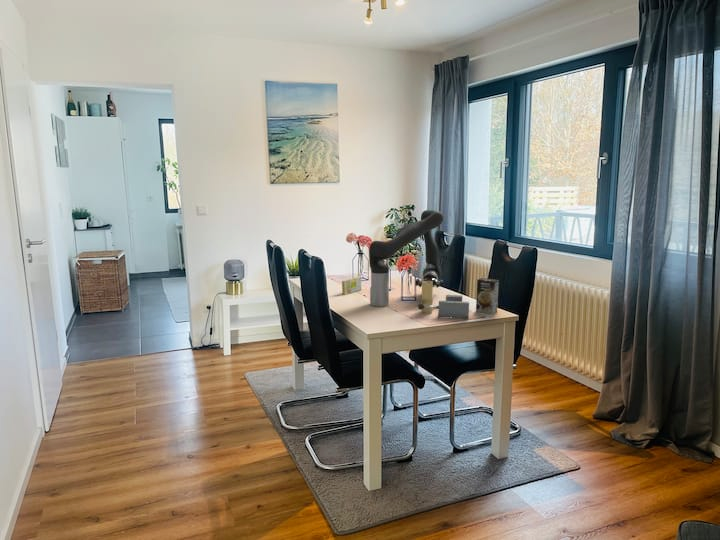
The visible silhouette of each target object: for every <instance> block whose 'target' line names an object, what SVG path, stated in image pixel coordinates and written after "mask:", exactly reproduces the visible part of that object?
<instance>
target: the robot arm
mask: <svg viewBox="0 0 720 540" xmlns="http://www.w3.org/2000/svg"><path fill="white" fill-rule="evenodd" d="M443 221H444V215H443V213H442V212H441V211H439V210H432V209H431V210H430V209H429V210H427V209H426V210H424V211H422V213H421V214H420V220H417V221H413V222H410V223H408V224H407V223H406V225H404V226H402V227H401V228H400V229H398V231H397V232H396V234H395V236H394V237H393V238H391V239H390V240H387V241H383V240H374V241H372V242H371V243H370V244H369V248H368V260H369V267H370V288H369V302H370V304H369V306H371V307H372V306H374V307H387V306H390V305H389V304H390V303H389V302H390V300H389V299H390V297H389V296H390V295H389V294H390V290H389V289H390V285H389V284H390V267H389V266H388V265H387V264H386V263H385V262H384V261H386V260H388V259H390V258H392V257H393V255H395V254H396V253H397V252H398V251H400V250H402V249H403V248H405V246H407V245H409V244H410V243H413V242H414V241H416V240H417V239H418V238H420V237H421V236H423V240H424V249H425V253H424V254H425V263H426V264H427V265H431V266H434V267H425V268H424V269H423V271H422V276H423V277H422V278H423V279H420V278H417V279H415V286H416V287H417V286H418V287H419V288H422V281H433V288H434V287H436V288H437V289H439V287H444V280H443V279H441V278H442V276H443V273H442V270H441V267H440V263H439V249H438V246H437V243H436V240H435V239H434V237H433V233H432V230H434V229H436V228H438V227H440V226H441V224H443Z"/></svg>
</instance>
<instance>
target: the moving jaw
mask: <svg viewBox="0 0 720 540" xmlns="http://www.w3.org/2000/svg"><path fill="white" fill-rule="evenodd" d="M445 301H461V302H463V295H460V294H459V295H458V294H445Z"/></svg>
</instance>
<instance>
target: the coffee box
mask: <svg viewBox="0 0 720 540" xmlns="http://www.w3.org/2000/svg"><path fill="white" fill-rule="evenodd" d="M476 281H477V282H476V302H475V304H476V305H475V312H478V313H482V314H483V313H484V314H489V315H490V314H492V315H494V314H495V313H497V312H498V305H499V304H498V303H499V301H498V299H499V285H500V280H499V279H493V278H485V277H484V278H483V277H481V278H478V279H476Z"/></svg>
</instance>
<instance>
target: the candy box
mask: <svg viewBox="0 0 720 540" xmlns="http://www.w3.org/2000/svg"><path fill="white" fill-rule="evenodd" d="M341 289H342V290H341V292H342V294H341V295H342V296H347V295H350V294H354V293H357V291H358V292H361V291H362V277H361V276H356V277H352V278H349V279H344V280H342V281H341ZM360 290H361V291H360Z"/></svg>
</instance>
